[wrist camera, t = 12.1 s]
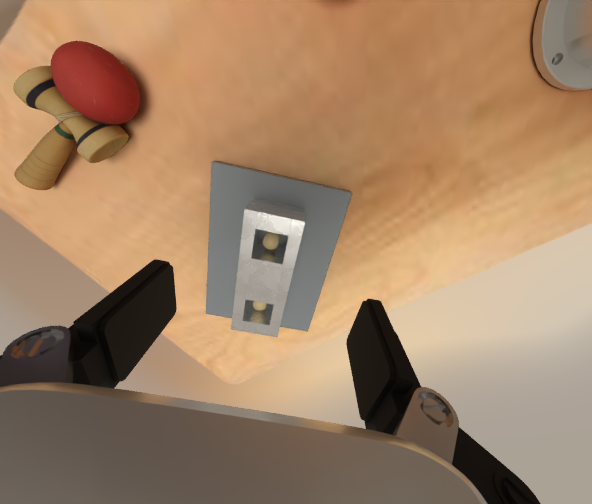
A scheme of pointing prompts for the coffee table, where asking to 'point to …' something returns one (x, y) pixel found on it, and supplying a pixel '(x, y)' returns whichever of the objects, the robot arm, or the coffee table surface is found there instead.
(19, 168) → the kendama
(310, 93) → the coffee table surface
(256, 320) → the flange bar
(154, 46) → the coffee table surface
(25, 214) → the coffee table surface
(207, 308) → the pin board
